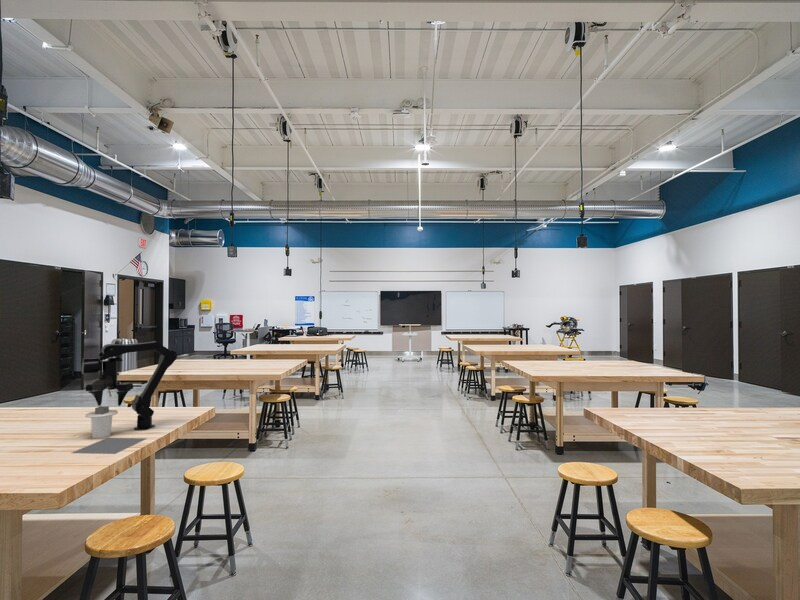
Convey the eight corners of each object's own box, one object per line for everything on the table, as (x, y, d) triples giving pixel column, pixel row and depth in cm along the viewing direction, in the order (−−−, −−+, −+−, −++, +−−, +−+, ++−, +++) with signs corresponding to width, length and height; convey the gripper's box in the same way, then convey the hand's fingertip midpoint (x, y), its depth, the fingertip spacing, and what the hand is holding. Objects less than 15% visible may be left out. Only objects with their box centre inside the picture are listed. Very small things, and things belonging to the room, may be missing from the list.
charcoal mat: (107, 438, 187) (107, 437, 187) (147, 439, 186) (147, 438, 186) (70, 454, 167) (70, 452, 167) (115, 455, 166) (115, 453, 166)
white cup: (87, 440, 185) (87, 417, 185) (95, 434, 193) (95, 412, 193) (108, 438, 187) (108, 415, 188) (114, 433, 195) (115, 411, 195)
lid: (98, 411, 196) (99, 404, 197) (124, 411, 196) (124, 404, 196) (78, 417, 184) (78, 410, 185) (105, 417, 184) (105, 410, 184)
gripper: (76, 374, 187) (75, 409, 187) (117, 374, 187) (117, 409, 187) (94, 370, 198) (94, 404, 198) (134, 370, 198) (133, 404, 198)
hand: (109, 405), depth 195 cm, fingers open, 9 cm apart
